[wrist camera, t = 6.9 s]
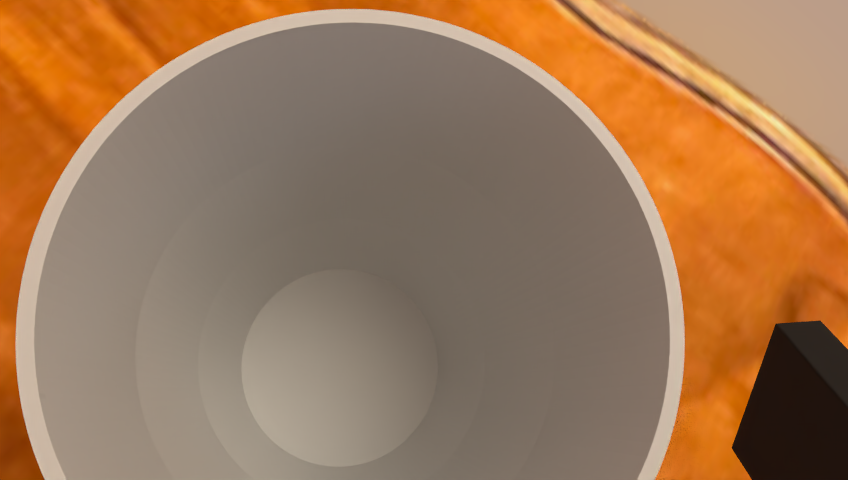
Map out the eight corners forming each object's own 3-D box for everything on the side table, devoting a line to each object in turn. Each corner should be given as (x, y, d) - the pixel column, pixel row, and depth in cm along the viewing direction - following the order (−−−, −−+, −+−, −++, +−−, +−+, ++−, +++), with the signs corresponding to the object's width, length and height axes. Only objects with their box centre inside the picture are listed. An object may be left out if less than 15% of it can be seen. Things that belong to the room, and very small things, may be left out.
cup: (268, 156, 20) (225, -91, 10) (550, 289, 20) (764, 169, 11) (108, 452, 18) (-135, 490, 8) (424, 598, 18) (549, 800, 8)
